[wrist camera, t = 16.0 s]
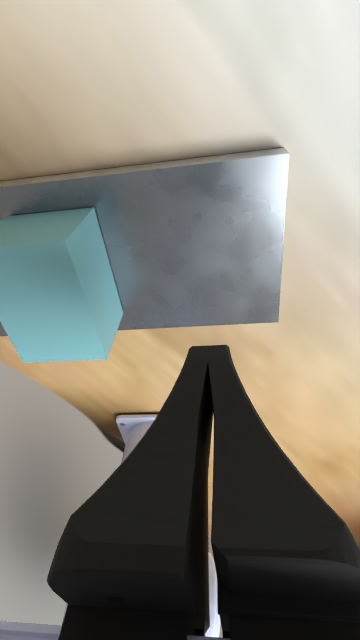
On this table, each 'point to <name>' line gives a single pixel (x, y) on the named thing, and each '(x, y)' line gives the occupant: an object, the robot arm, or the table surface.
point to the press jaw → (57, 287)
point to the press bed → (180, 234)
